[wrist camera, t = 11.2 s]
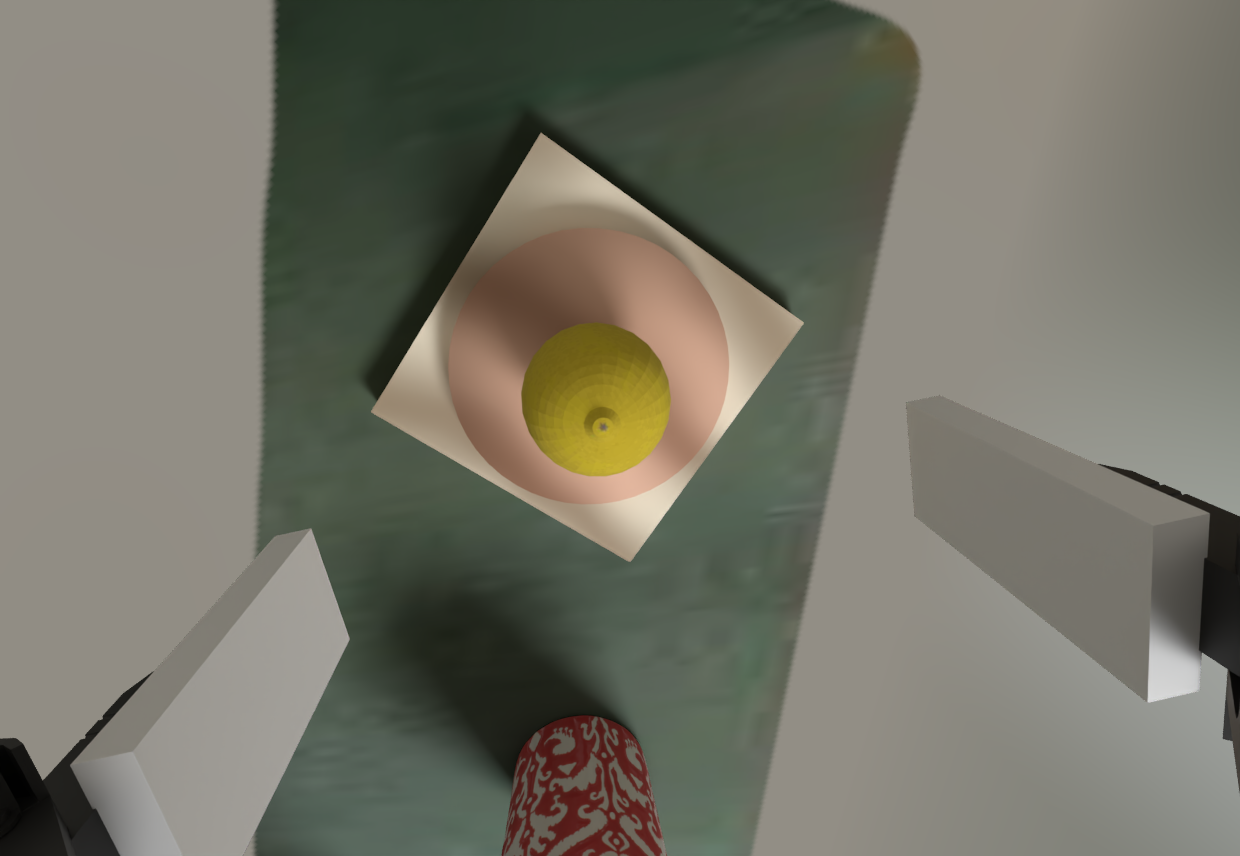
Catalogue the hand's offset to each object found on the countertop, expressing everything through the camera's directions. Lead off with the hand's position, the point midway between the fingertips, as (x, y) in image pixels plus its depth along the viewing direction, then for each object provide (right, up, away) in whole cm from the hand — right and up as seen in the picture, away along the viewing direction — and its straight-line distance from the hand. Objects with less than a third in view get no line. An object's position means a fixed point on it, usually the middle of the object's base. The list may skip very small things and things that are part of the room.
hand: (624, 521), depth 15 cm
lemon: (-1, +4, +15) cm, 16 cm away
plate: (-2, +5, +18) cm, 19 cm away
